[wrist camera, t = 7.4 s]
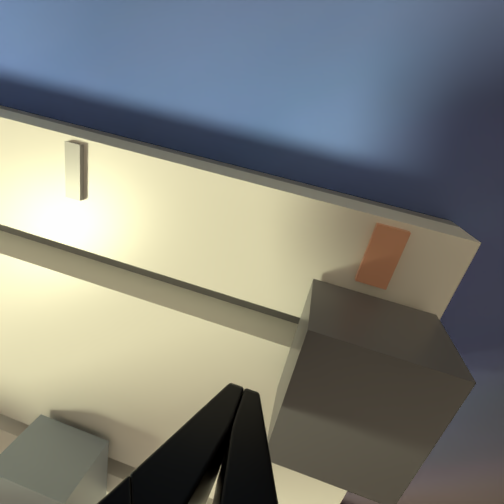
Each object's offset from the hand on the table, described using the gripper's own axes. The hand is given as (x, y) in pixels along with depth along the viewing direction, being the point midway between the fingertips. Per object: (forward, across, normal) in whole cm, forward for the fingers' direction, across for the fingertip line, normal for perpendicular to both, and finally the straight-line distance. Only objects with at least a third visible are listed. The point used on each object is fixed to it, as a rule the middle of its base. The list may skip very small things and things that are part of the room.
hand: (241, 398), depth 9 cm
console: (+6, +6, +6) cm, 10 cm away
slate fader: (+5, +8, +12) cm, 15 cm away
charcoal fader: (+5, -3, 0) cm, 6 cm away
